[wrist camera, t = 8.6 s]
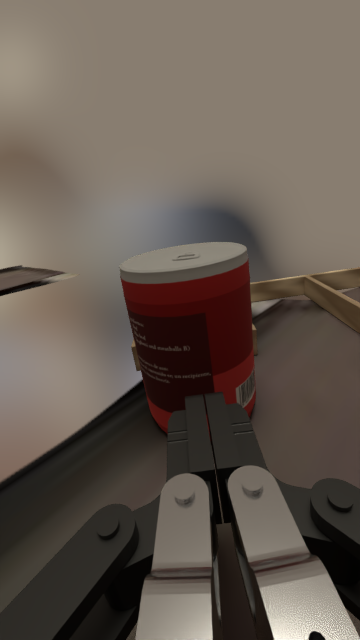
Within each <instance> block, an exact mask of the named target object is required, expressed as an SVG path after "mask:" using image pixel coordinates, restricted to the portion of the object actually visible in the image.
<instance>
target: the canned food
mask: <svg viewBox="0 0 360 640" xmlns="http://www.w3.org/2000/svg"><path fill="white" fill-rule="evenodd" d="M119 268H120V278H121V282H122V286H123V292H124V297H125V302H126V305H127V310H128V315H129V319H130V323H131V328H132V333H133V337H134V342H135V346H136V350H137V355H138V359H139V364H140V368H141V372H142V377H143V381H144V386H145V390H146V395H147V399H148V403H149V408H150V411H151V414H152V416H153V417H154V419H155V420H156V422H157V423H158V425H159V426H160V428H161V429H162V430H163V431H165V432H166V433H167V434H168V420H169V418H170V417H171V415H172V413H173V412H174V411H181V410H186V406H185V397H186V396H194V395H201V394H203V398H204V405H205V411H206V417H207V410H206V403H205V395H204V394H208V393H215V392H223V395H224V399H225V403H226V404H233V403H239V404H240V405H241V406H242V407H243V408H244V409H245V410H246V411H247V414H248V416H249V417H250V415H251V412H252V410H253V406H254V403H255V397H256V390H255V370H254V350H253V331H252V311H251V292H250V275H249V263H248V255H247V248H246V247H245V246H243V245H241V244H237V243H230V242H212V243H211V242H210V243H198V244H189V245H181V246H176V247H169V248H164V249H159V250H155V251H151V252H148V253H144V254H140V255H137V256H135V257H132V258H130V259H128V260H126V261H125V262H123V263H122V264H121V265H120V267H119ZM207 423H208V418H207ZM208 430H209V425H208ZM209 436H210V432H209ZM210 441H211V439H210Z"/></svg>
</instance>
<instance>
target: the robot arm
mask: <svg viewBox="0 0 360 640" xmlns="http://www.w3.org/2000/svg"><path fill="white" fill-rule="evenodd" d="M204 395H205V403H206V410H207V417H206V411H205V405H204V398H203V394H201V395H194V396H186V397H185V406H186V410H181V411H174V412H173V413H172V415H171V417H170V418H169V420H168V438H167V442H168V443H167V480H166V484H165V485H164V487H163V489H162V492H161V494H160V495H159V496H158V497H157V498H156V499H155V500H154V501H152V502H151V503H149V504H147V505H145V506H143V507H141V508H138V509H136V510H134V511H131V509H129V508H128V507H127V506H125V505H122V504H111V505H108V506H105V507H103V508H102V509H100V510H99V511H97V512H96V513H95V514H94V515H93V516H92V517H91V518H90V519H89V520H88V521H87V522H86V523H85V524H84V525H83V526H82V527H81V529H80V530H79V531H78V532H77V533H76V534H75V535H74V536H73V537H72V538H71V539H70V540H69V541H68V542H67V543H66V544H65V545H64V547H63V548H62V549H61V550H60V551H59V552H58V553H57V554H56V555H55V556H54V557H53V558H52V559H51V560H50V561H49V562H48V563H47V565H46V566H45V567H44V568H43V569H42V570H41V571H40V572H39V573H38V574H37V575H36V576H35V577H34V578H33V579H32V580H31V581H30V583H29V584H28V585H27V586H26V587H25V588H24V589H23V590H22V591H21V592H20V593H19V594H18V595H17V596H16V597H15V598H14V599H13V601H12V602H11V603H10V604H9V605H8V606H7V607H6V608H5V609H4V610H3V611H2V612H1V613H0V640H126V639H127V637H128V636H129V634H130V632H131V631H132V629H133V628H134V626H135V625H136V623H137V621H138V625H137V632H136V640H223V628H222V612H221V596H220V580H219V563H218V535H217V528H216V524H222V519H221V512H220V504H219V497H218V489H217V482H218V488H219V494H220V500H221V507H222V513H223V519H224V523H231V526H232V532H233V537H234V545H235V552H236V556H237V560H238V564H239V568H240V572H241V576H242V580H243V584H244V588H245V592H246V596H247V600H248V604H249V608H250V612H251V616H252V620H253V624H254V628H255V632H256V637H257V640H360V638H359V636H358V634H357V632H356V629H355V627H354V625H353V623H352V621H351V619H350V617H349V615H348V613H347V611H346V609H347V610H349V611H350V612H351V613H352V614H353V615H354V616H355V617H356V618H357V619H359V620H360V489H358V488H357V487H355V486H353V485H352V484H350V483H348V482H345V481H343V480H339V479H333V478H327V479H322V480H320V481H318V482H316V483H315V484H314V485H313V487H312V489H307V488H301V487H296V486H291V485H288V484H285V483H283V482H281V481H279V480H278V479H276V478H275V477H274V476H273V475H272V474H271V473H270V472H269V470H268V469H267V466H266V464H265V461H264V459H263V456H262V453H261V450H260V447H259V444H258V442H257V439H256V436H255V433H254V431H253V428H252V425H251V423H250V419H249V416H248V414H247V411H246V410H245V409H244V408H243V407H242V406H241V405H240V404H239V403H233V404H226V403H225V399H224V395H223V392H215V393H208V394H204ZM207 418H208V423H207ZM208 425H209V430H208ZM209 432H210V436H209ZM210 439H211V442H210ZM211 445H212V448H211ZM212 451H213V455H212ZM213 457H214V461H213ZM214 463H215V467H214ZM215 470H216V474H215ZM216 476H217V482H216ZM345 608H346V609H345Z"/></svg>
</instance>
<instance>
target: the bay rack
mask: <svg viewBox="0 0 360 640" xmlns="http://www.w3.org/2000/svg"><path fill="white" fill-rule="evenodd" d="M355 287H360V267H358V268H351V269H344V270H338V271H331V272H323V273H317V274H310V275H303V276H296V277H289V278H282V279H275V280H268V281H261V282H254V283H250V292H251V302H256V301H263V300H270V299H277V298H284V297H291V296H298V295H305V296H307V297H308V298H310V299H311V300H313V301H314V302H315V303H317V304H318V305H320V306H321V307H322V308H324V309H325V310H327V311H328V312H330V313H331V314H332V315H334V316H335V317H337V318H338V319H340V320H341V321H342V322H344V323H345V324H347V325H348V326H349V327H351V328H352V329H354V330H355V331H357V332H358V333H359V334H360V303H358V302H356V301H355V300H353V299H351V298H349V297H347V296H345V295H344V294H342V293H340V292H338V291H336V290H341V289H348V288H355ZM252 331H253V350H254V355H258V354H257V335H256V329H255V327H254V326H253V324H252ZM131 347H132V352H133V356H134V360H135V365H136V370H137V371H140V370H141V368H140V364H139V359H138V355H137V350H136V346H135V342H134V340H133V343H132V346H131Z"/></svg>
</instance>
